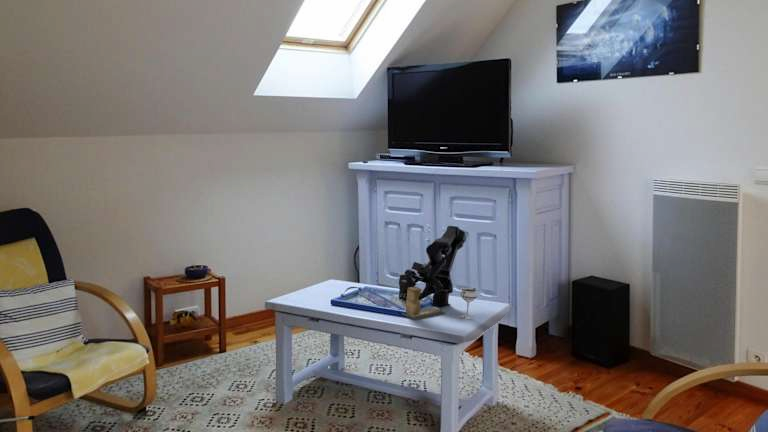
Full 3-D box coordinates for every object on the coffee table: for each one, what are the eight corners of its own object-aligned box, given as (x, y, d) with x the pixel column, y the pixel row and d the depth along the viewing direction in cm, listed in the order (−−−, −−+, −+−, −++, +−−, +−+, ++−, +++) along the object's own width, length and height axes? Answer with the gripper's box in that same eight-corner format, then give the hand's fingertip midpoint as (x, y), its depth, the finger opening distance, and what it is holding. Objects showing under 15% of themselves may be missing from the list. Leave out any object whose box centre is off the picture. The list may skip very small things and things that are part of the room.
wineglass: (464, 313, 282) (466, 286, 280) (478, 317, 278) (480, 289, 276) (455, 316, 277) (457, 288, 275) (469, 321, 273) (472, 292, 271)
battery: (396, 298, 298) (398, 273, 296) (399, 296, 301) (401, 271, 299) (411, 301, 295) (413, 276, 294) (414, 299, 299) (416, 274, 297)
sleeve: (413, 312, 278) (414, 286, 276) (419, 314, 275) (421, 288, 273) (405, 313, 276) (407, 287, 274) (412, 316, 272) (414, 290, 271)
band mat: (427, 306, 289) (427, 303, 289) (445, 313, 281) (445, 310, 280) (397, 312, 278) (397, 308, 278) (414, 320, 270) (414, 316, 270)
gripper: (409, 250, 281) (386, 278, 276) (439, 260, 266) (417, 290, 261) (421, 266, 287) (400, 294, 282) (452, 277, 273) (430, 307, 268)
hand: (411, 296), depth 273 cm, fingers open, 9 cm apart
